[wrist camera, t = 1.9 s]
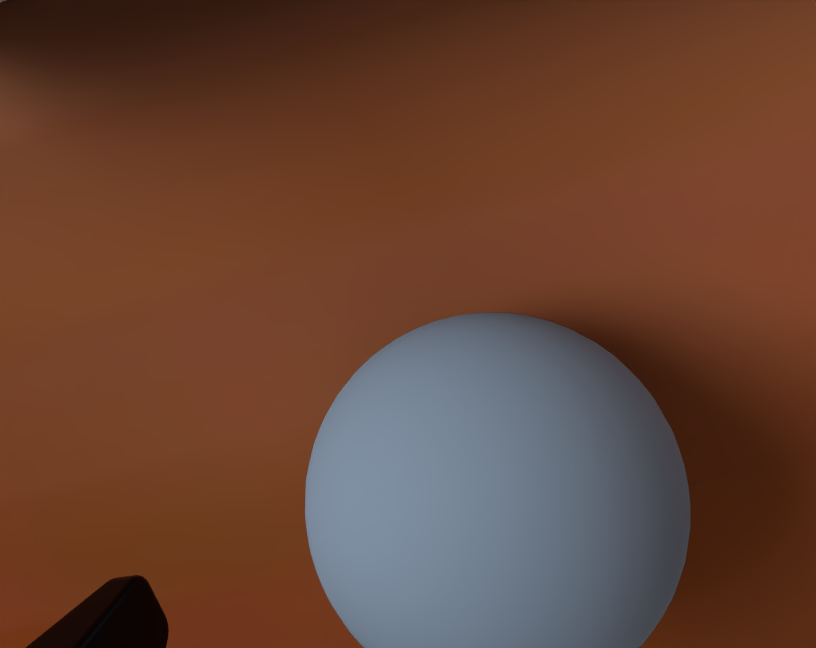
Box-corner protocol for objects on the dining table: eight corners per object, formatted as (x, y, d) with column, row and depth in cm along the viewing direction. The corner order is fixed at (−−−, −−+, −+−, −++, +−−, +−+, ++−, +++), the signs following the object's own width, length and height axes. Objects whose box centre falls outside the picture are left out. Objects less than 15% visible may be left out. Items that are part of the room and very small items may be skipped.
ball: (658, 498, 13) (759, 788, 8) (381, 535, 13) (334, 814, 9) (625, 228, 11) (735, 413, 6) (303, 292, 11) (190, 494, 7)
